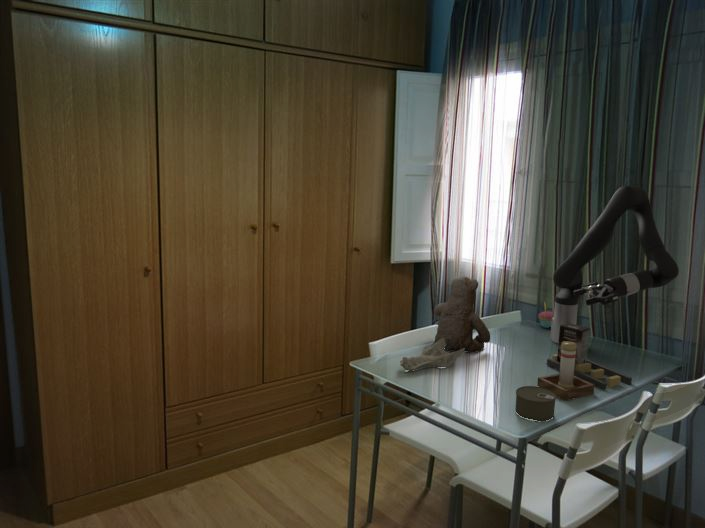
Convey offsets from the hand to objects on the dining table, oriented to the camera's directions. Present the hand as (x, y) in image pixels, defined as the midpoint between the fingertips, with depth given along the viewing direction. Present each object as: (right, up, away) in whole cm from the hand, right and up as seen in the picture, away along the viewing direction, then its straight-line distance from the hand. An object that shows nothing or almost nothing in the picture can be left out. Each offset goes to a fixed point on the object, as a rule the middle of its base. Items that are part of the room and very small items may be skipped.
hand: (580, 298), depth 214 cm
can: (-24, -35, -25) cm, 49 cm away
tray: (-8, -31, -7) cm, 33 cm away
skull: (-52, -27, +14) cm, 60 cm away
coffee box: (+2, -27, +16) cm, 32 cm away
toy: (-36, -22, +38) cm, 57 cm away
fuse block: (+6, -28, +9) cm, 30 cm away
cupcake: (+10, -17, +68) cm, 70 cm away
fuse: (-8, -30, -7) cm, 32 cm away
